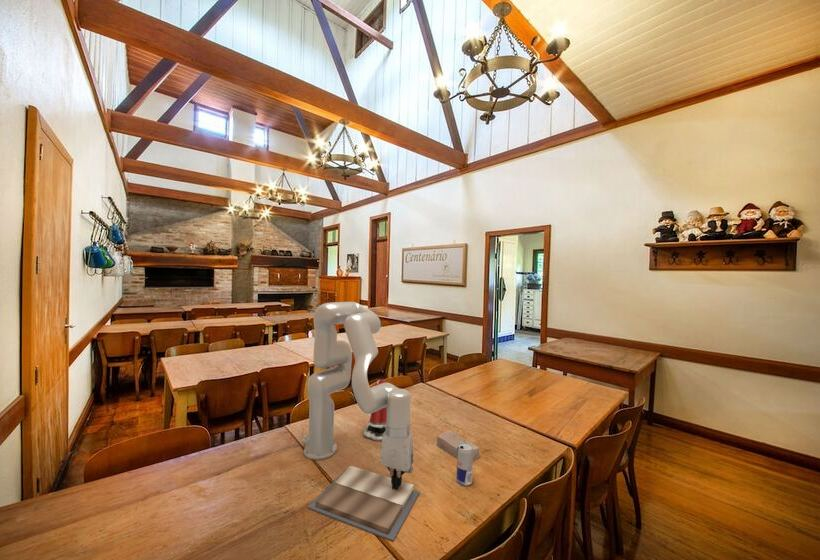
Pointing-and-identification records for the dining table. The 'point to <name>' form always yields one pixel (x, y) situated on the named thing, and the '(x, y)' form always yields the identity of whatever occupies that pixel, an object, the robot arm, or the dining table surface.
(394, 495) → the loose plank
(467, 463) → the energy drink
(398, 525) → the underlay mat
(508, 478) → the dining table surface
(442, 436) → the brick
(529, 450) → the dining table surface
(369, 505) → the laid plank
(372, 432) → the santa figurine
